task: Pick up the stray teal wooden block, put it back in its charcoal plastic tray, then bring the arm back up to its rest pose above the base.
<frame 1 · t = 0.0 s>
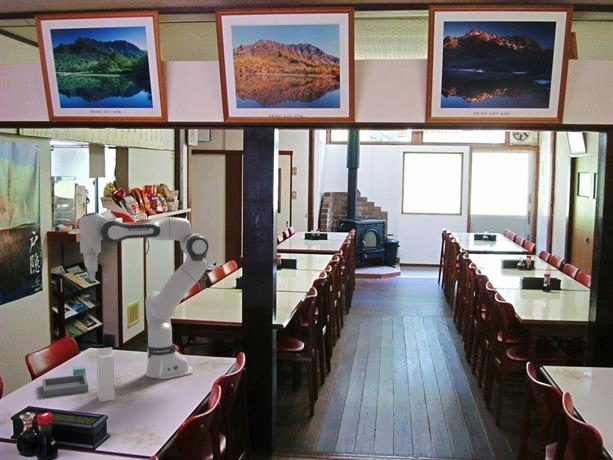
hand: (91, 278, 278), 48 cm above the table, tool pointing down, fingers open, 8 cm apart
block: (79, 378, 288), on the table
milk: (106, 399, 262), on the table
tray: (65, 388, 273), on the table
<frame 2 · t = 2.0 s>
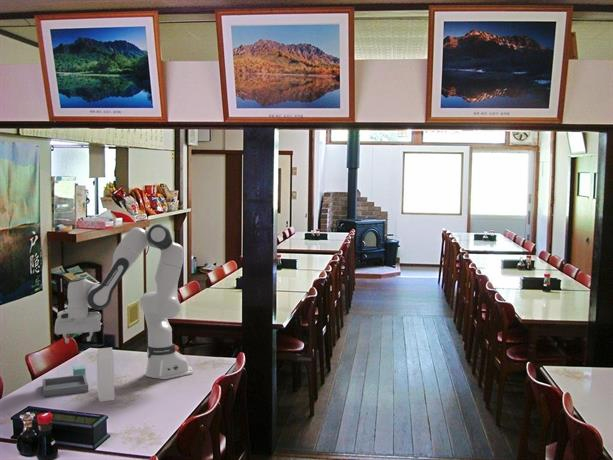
hand: (78, 342, 287), 17 cm above the table, tool pointing down, fingers open, 8 cm apart
nothing on the table moved.
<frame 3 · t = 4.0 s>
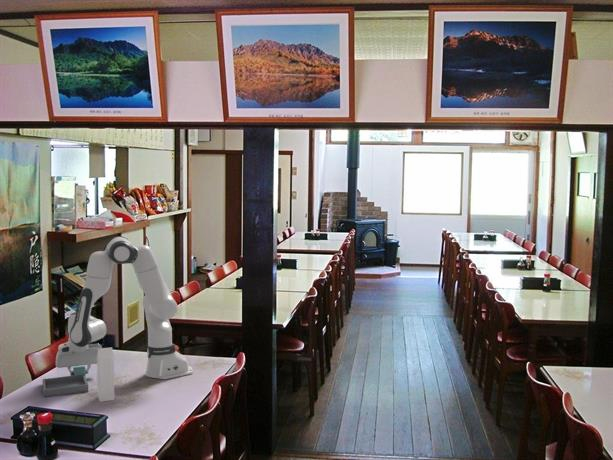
hand: (79, 374, 288), 2 cm above the table, tool pointing down, fingers closed on block, 5 cm apart
block: (79, 377, 288), on the table, touching gripper
everything else where it was.
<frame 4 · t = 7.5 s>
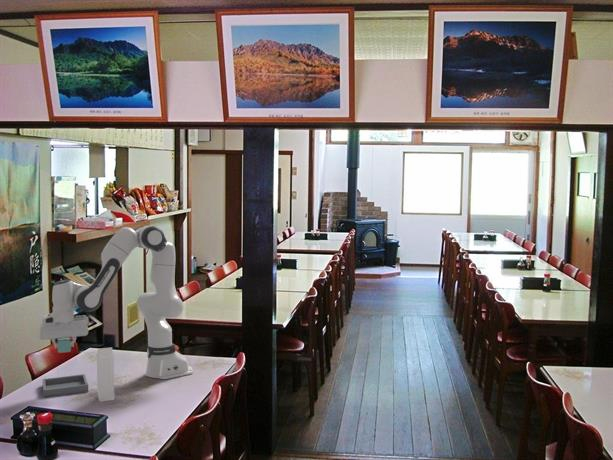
hand: (64, 347, 272), 19 cm above the table, tool pointing down, fingers closed on block, 5 cm apart
block: (64, 350, 272), point 17 cm above the table, touching gripper
everything else where it was.
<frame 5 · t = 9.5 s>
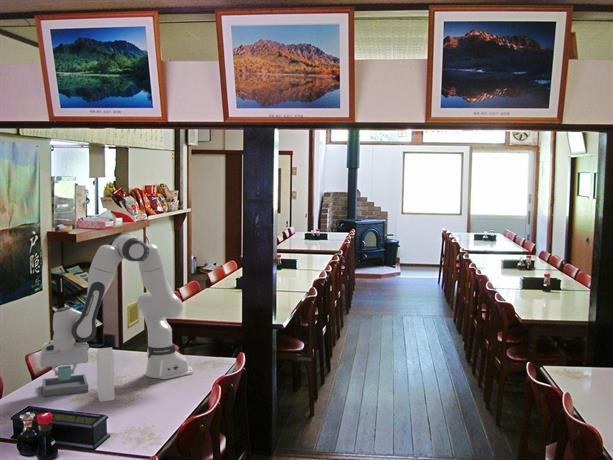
hand: (64, 374, 272), 6 cm above the table, tool pointing down, fingers closed on block, 5 cm apart
block: (64, 378, 273), point 5 cm above the table, touching gripper
everything else where it was.
when the fingers open (4 cm above the table, at t = 11.0 s): block drops 1 cm, resting on tray.
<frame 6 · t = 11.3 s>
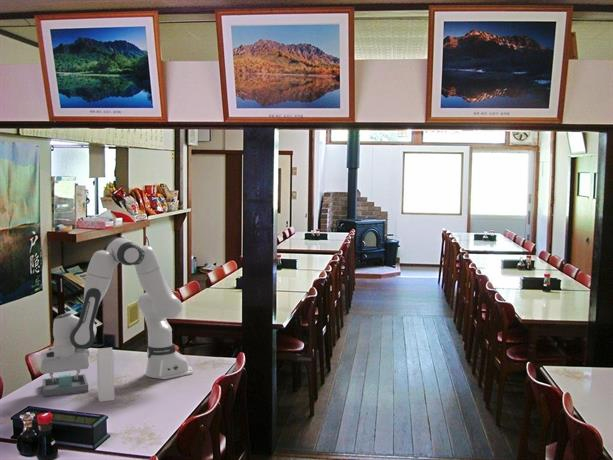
hand: (65, 380, 273), 4 cm above the table, tool pointing down, fingers open, 8 cm apart
block: (65, 387, 273), resting on tray
everything else where it was.
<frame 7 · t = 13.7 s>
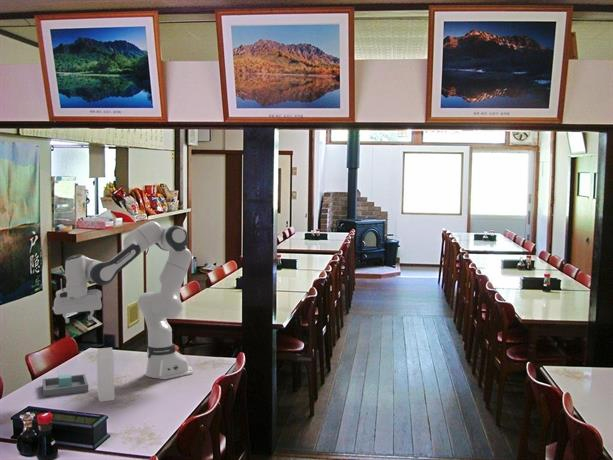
hand: (78, 321, 275), 29 cm above the table, tool pointing down, fingers open, 8 cm apart
nothing on the table moved.
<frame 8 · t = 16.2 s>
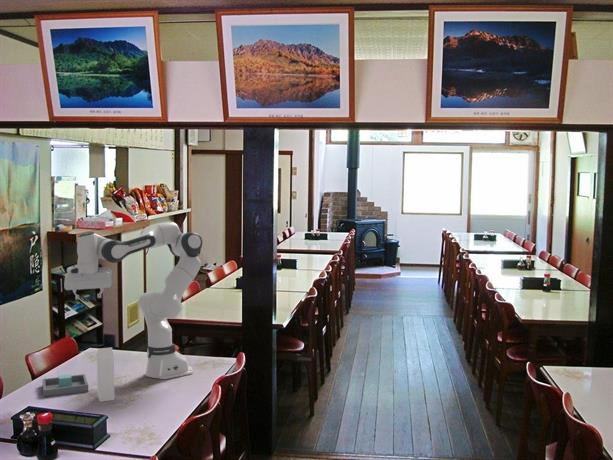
hand: (88, 298, 278), 39 cm above the table, tool pointing down, fingers open, 8 cm apart
nothing on the table moved.
at the end: block inside the target area on the tray (0.1 cm from its centre), point 0.5 cm above the tray's base; block tilted 0°; the gripper is holding nothing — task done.
